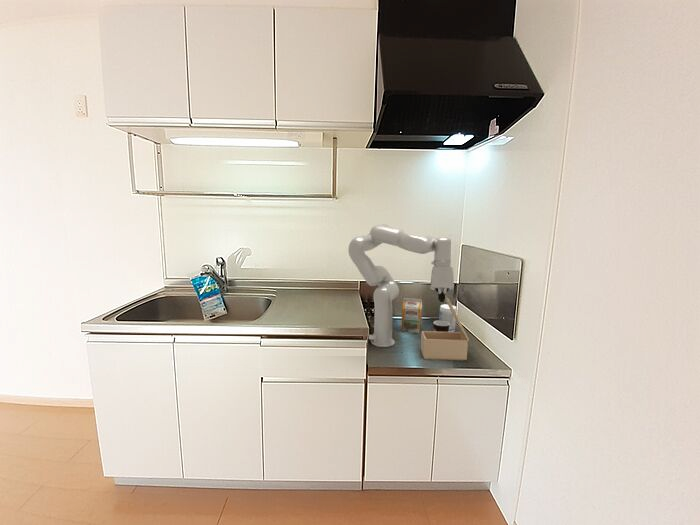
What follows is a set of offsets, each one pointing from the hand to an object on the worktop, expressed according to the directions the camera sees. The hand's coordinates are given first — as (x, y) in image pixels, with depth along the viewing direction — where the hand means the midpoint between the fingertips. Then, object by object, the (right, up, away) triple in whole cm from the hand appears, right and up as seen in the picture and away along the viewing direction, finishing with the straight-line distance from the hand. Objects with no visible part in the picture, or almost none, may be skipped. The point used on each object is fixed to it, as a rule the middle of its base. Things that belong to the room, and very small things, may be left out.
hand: (441, 301), depth 164 cm
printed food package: (-8, -22, +39) cm, 45 cm away
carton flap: (+7, -8, +1) cm, 10 cm away
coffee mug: (+6, -24, +24) cm, 35 cm away
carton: (+2, -27, +4) cm, 28 cm away
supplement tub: (+13, -22, +39) cm, 46 cm away
